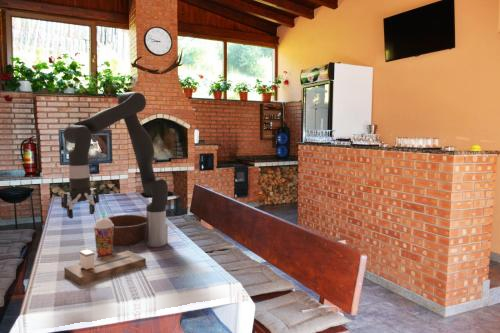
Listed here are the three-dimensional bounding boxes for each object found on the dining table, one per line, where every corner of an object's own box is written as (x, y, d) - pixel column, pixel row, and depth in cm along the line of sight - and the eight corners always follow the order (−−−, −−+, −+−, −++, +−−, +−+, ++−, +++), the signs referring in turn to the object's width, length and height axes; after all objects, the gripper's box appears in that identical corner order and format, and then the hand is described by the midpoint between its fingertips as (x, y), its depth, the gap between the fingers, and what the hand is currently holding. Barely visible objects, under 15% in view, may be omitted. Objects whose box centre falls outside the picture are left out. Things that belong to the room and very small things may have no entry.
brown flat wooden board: (128, 256, 175) (128, 249, 174) (145, 265, 165) (145, 257, 165) (64, 274, 154) (64, 266, 154) (80, 285, 145) (80, 276, 144)
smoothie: (93, 258, 172) (92, 214, 169) (95, 252, 180) (94, 209, 177) (113, 257, 174) (112, 213, 171) (115, 250, 182) (114, 209, 179)
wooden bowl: (136, 250, 184) (135, 229, 183) (88, 245, 189) (88, 225, 188) (158, 234, 208) (158, 216, 207) (116, 231, 213) (115, 212, 212)
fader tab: (88, 263, 156) (88, 249, 156) (94, 267, 153) (94, 252, 152) (80, 265, 154) (79, 251, 153) (86, 269, 150) (85, 254, 150)
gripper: (92, 173, 161) (93, 211, 164) (56, 177, 151) (59, 217, 153) (101, 175, 157) (102, 214, 159) (65, 179, 146) (67, 221, 148)
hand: (81, 216), depth 156 cm, fingers open, 8 cm apart
